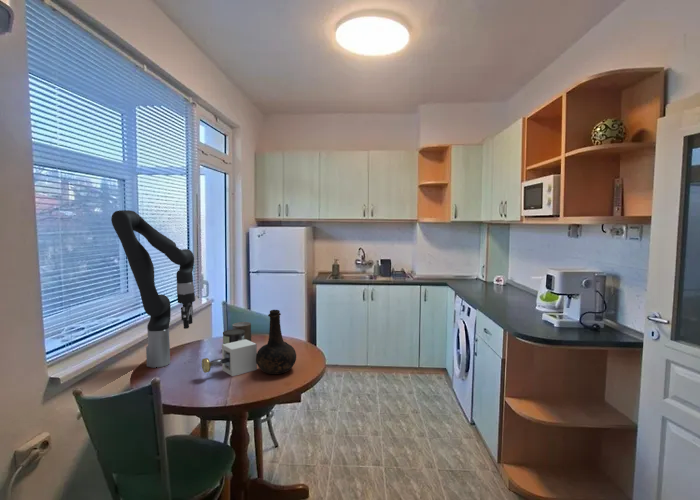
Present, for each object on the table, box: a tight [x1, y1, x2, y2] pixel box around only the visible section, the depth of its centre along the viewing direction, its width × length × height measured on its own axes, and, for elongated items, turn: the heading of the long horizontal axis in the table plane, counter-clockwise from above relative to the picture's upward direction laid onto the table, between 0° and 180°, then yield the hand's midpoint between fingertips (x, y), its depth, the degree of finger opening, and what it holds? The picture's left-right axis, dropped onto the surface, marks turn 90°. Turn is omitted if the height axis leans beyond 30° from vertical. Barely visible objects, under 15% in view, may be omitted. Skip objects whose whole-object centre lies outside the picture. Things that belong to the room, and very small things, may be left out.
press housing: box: [221, 339, 258, 377], centre depth 176 cm, size 12×10×12 cm
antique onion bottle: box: [256, 309, 297, 375], centre depth 174 cm, size 18×18×28 cm
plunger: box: [201, 353, 230, 374], centre depth 169 cm, size 12×6×6 cm, turn 133°
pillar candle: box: [232, 321, 252, 342], centre depth 207 cm, size 10×10×15 cm
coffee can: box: [222, 328, 245, 344], centre depth 190 cm, size 10×10×14 cm
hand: (188, 326), depth 181 cm, fingers open, 8 cm apart
